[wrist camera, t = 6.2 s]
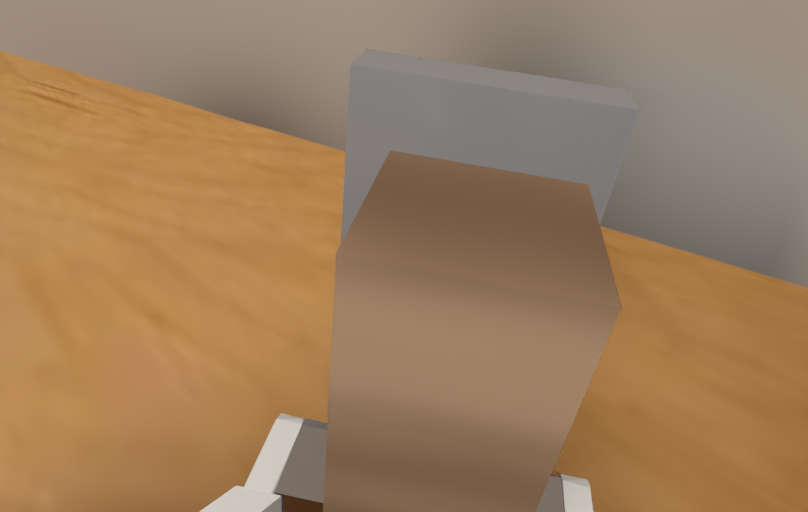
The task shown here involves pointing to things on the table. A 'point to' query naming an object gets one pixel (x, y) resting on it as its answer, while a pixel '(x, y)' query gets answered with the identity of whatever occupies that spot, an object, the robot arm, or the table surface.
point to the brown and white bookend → (461, 337)
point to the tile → (482, 123)
